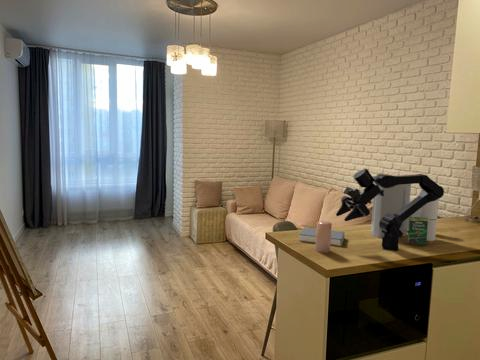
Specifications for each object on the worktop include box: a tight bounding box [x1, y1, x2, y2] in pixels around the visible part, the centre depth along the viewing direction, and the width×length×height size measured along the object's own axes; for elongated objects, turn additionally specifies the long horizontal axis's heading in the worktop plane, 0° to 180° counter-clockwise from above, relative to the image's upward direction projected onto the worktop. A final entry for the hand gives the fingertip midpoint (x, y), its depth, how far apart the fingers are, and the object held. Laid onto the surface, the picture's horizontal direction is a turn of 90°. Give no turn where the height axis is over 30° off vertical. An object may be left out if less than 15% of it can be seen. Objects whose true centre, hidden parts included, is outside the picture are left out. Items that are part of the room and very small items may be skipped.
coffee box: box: [407, 217, 428, 247], centre depth 172 cm, size 8×3×13 cm, turn 68°
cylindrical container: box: [421, 198, 440, 242], centre depth 180 cm, size 7×7×25 cm
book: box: [298, 227, 345, 247], centre depth 175 cm, size 20×14×4 cm
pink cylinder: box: [314, 220, 333, 254], centre depth 158 cm, size 6×6×12 cm
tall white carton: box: [370, 183, 412, 239], centre depth 190 cm, size 19×15×28 cm
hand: (340, 217), depth 159 cm, fingers open, 9 cm apart
